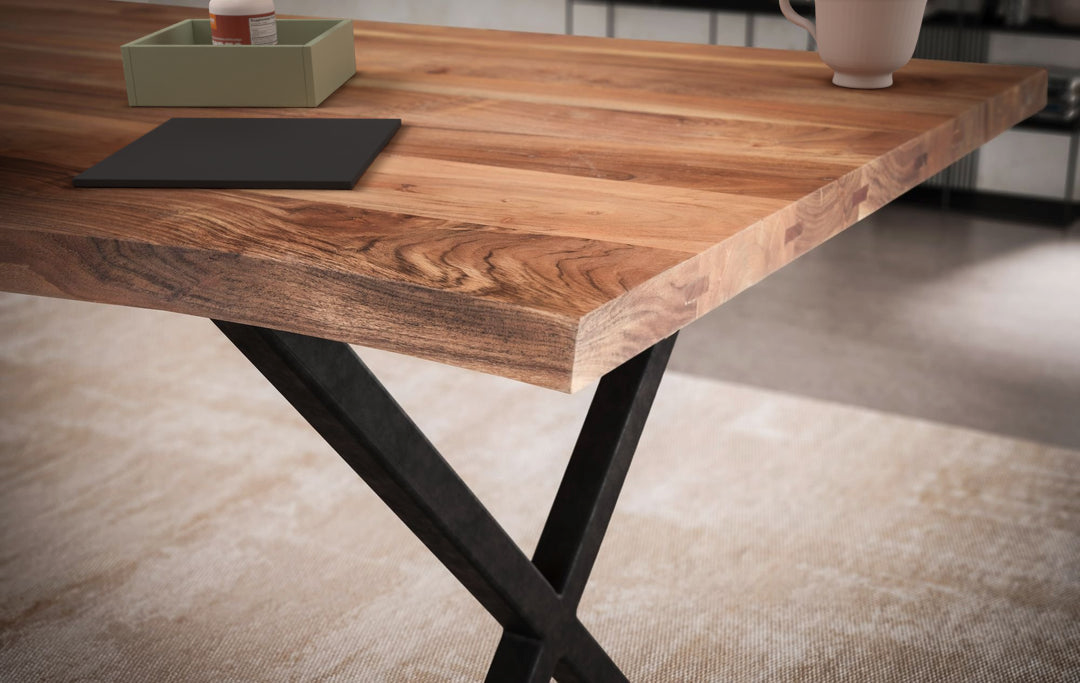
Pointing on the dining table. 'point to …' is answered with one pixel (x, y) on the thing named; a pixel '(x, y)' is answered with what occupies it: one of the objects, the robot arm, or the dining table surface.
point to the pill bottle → (243, 22)
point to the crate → (240, 66)
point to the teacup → (863, 37)
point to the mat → (246, 154)
